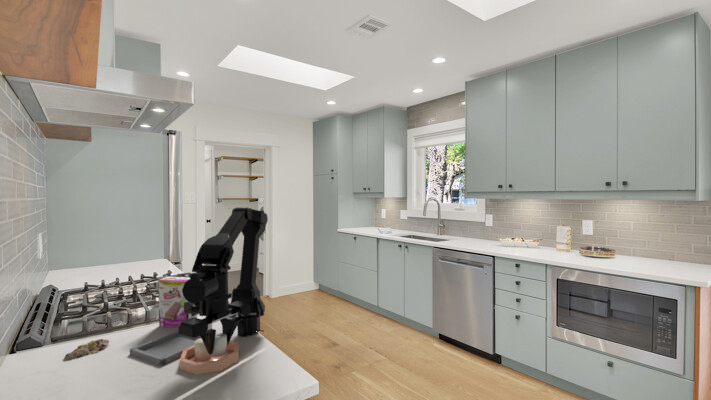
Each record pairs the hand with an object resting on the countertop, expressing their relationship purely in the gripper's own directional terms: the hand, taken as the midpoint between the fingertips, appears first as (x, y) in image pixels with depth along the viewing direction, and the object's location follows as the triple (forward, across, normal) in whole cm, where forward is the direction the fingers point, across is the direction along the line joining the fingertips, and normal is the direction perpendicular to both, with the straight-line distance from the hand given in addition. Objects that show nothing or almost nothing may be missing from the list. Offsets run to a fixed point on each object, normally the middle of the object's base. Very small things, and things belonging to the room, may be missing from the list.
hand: (218, 349), depth 93 cm
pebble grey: (+1, 0, 0) cm, 1 cm away
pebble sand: (+3, 0, -6) cm, 6 cm away
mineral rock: (+4, +12, -38) cm, 41 cm away
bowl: (+4, 0, -3) cm, 5 cm away
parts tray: (+4, 0, -18) cm, 19 cm away
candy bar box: (+4, -12, -33) cm, 35 cm away
